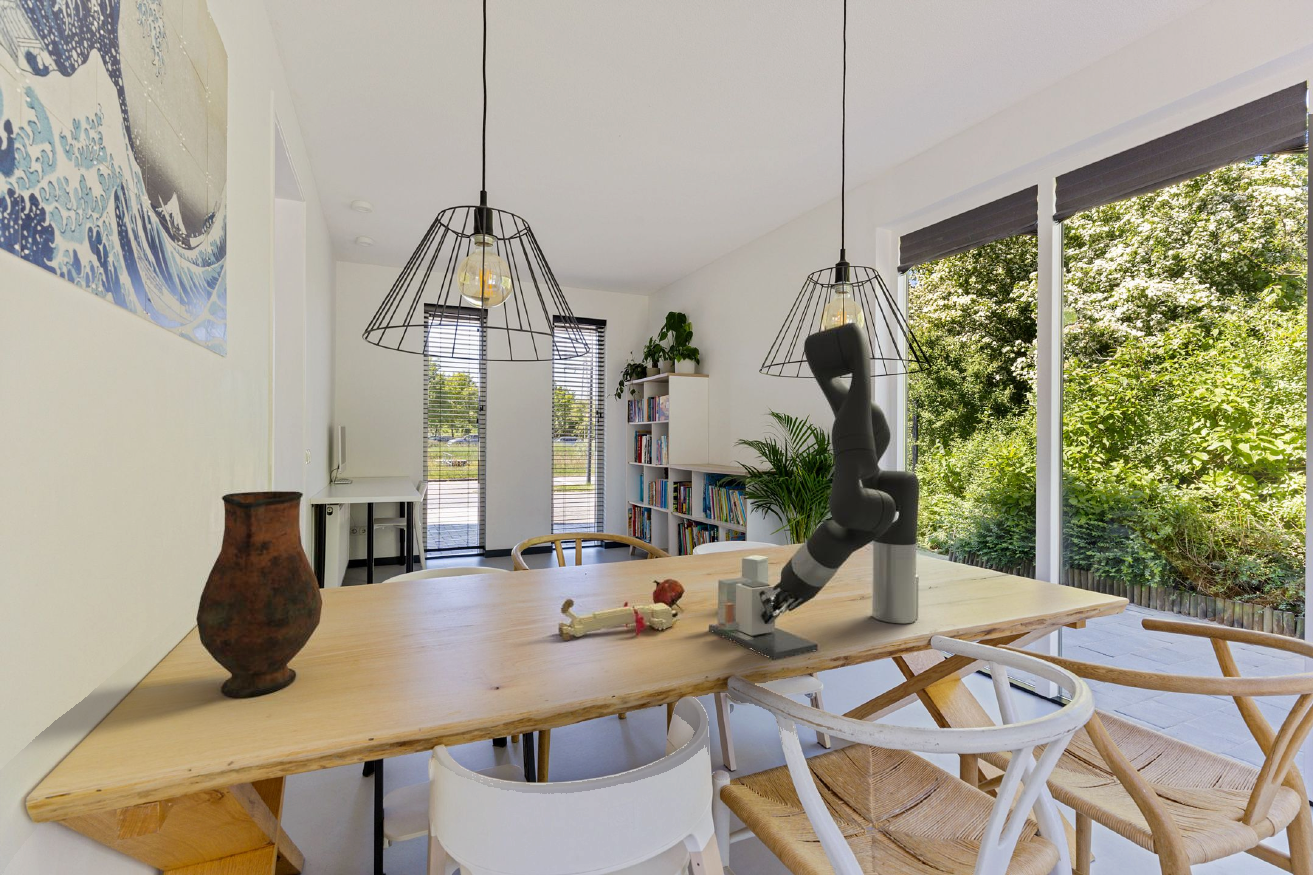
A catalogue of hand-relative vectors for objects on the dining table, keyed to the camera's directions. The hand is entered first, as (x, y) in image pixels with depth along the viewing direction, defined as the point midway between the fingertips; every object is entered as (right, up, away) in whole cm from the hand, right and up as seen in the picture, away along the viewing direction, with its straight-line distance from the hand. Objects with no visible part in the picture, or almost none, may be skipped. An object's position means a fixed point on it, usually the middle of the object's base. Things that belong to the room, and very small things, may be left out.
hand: (765, 619), depth 123 cm
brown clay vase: (-84, -3, -23) cm, 87 cm away
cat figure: (-29, -4, +6) cm, 30 cm away
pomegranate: (-18, -5, +23) cm, 30 cm away
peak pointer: (-7, -3, +3) cm, 8 cm away
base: (-1, -4, +1) cm, 5 cm away
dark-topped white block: (-3, -3, +2) cm, 4 cm away
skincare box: (+2, -5, +26) cm, 26 cm away
